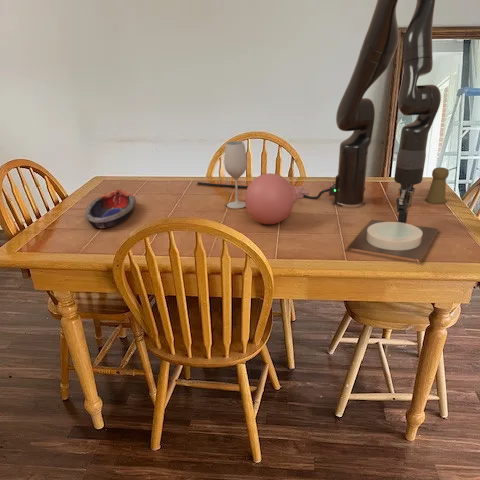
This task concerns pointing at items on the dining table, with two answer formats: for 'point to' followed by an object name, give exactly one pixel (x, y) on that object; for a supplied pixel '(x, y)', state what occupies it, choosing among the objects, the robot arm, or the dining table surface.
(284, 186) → the balloon
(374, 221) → the board
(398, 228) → the plate
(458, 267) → the dining table surface
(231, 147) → the wineglass
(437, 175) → the olive pepper mill
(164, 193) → the dining table surface
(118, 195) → the dish
